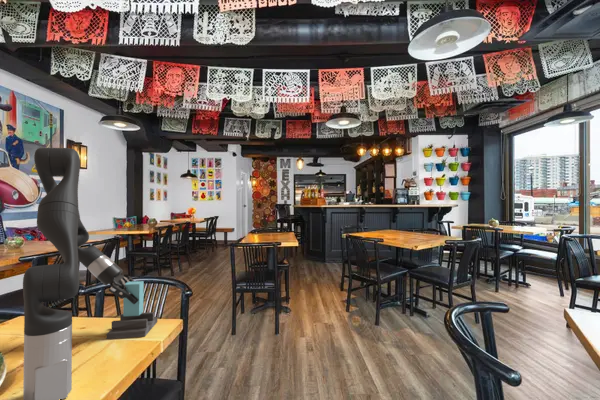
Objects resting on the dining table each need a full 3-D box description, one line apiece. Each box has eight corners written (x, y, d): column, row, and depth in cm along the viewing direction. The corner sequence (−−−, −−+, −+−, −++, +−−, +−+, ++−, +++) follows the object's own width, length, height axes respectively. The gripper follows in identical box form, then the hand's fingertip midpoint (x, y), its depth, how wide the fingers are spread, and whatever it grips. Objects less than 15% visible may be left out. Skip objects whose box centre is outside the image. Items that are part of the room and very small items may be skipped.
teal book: (139, 315, 109) (139, 284, 109) (122, 316, 108) (123, 284, 108) (143, 311, 113) (143, 281, 113) (127, 312, 112) (127, 281, 112)
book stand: (145, 336, 105) (145, 322, 105) (106, 338, 103) (106, 325, 103) (157, 321, 118) (157, 309, 118) (123, 323, 116) (123, 311, 116)
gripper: (103, 266, 102) (139, 299, 104) (121, 259, 116) (153, 287, 118) (86, 282, 102) (123, 314, 103) (107, 272, 116) (139, 301, 117)
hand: (139, 300), depth 111 cm, fingers closed on teal book, 4 cm apart
